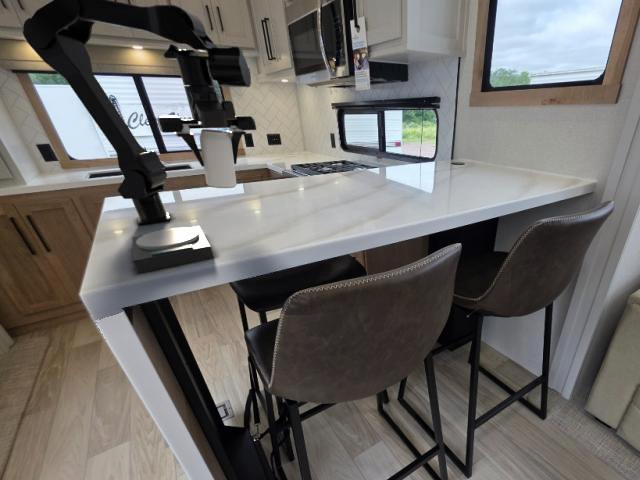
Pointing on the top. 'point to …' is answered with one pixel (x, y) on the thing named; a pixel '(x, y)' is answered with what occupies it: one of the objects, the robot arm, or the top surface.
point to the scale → (170, 248)
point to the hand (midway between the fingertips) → (219, 165)
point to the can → (218, 158)
